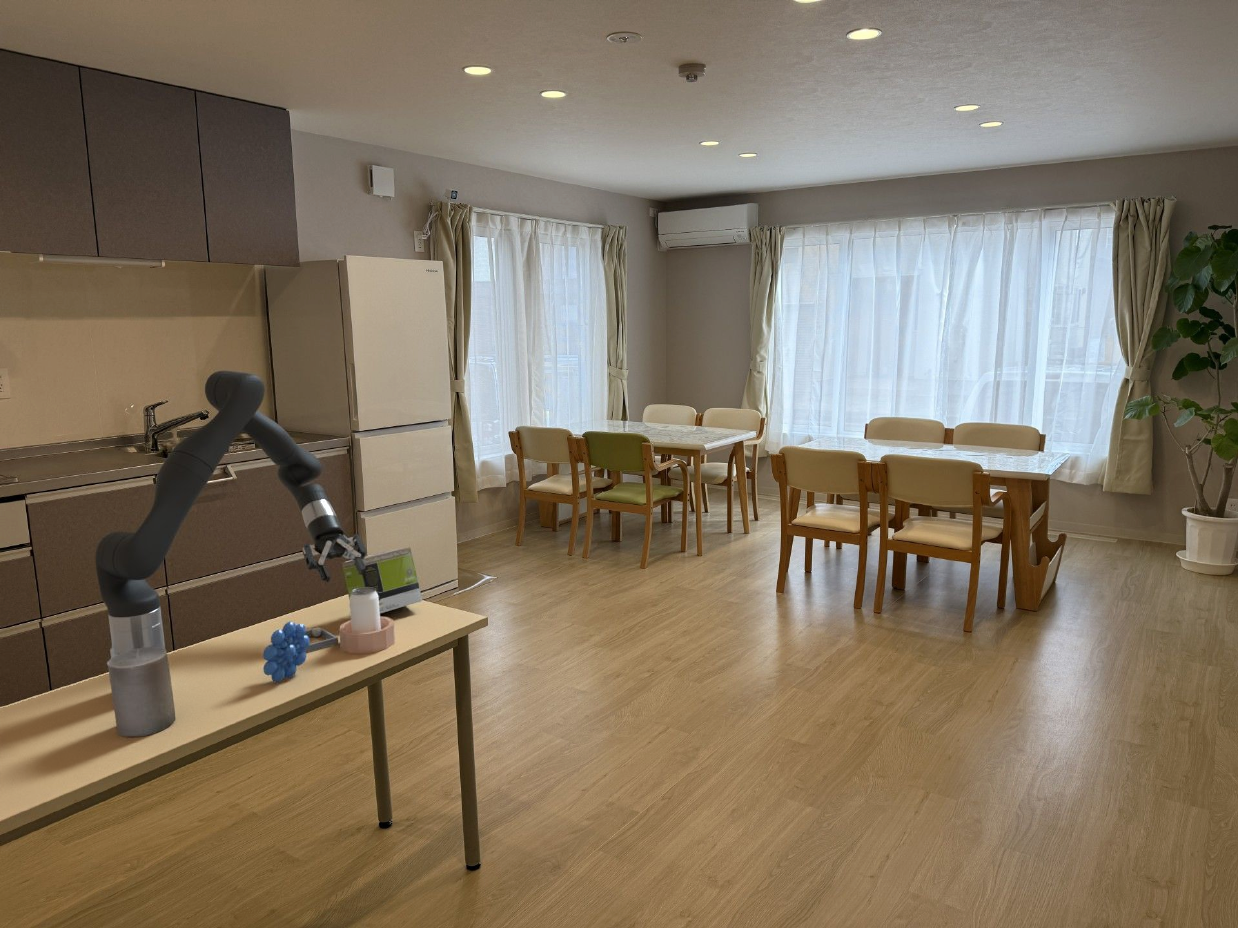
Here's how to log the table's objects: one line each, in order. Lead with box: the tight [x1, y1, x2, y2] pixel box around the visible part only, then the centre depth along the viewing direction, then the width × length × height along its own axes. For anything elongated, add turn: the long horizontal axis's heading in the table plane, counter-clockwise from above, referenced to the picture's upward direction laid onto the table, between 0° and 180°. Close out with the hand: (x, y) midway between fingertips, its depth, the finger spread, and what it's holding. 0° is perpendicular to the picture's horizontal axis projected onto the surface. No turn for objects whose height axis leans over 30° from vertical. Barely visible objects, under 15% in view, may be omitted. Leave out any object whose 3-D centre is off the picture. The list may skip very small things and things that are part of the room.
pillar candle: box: [106, 647, 176, 738], centre depth 156 cm, size 10×10×15 cm
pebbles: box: [312, 627, 322, 638], centre depth 197 cm, size 9×9×2 cm
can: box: [349, 587, 381, 633], centre depth 196 cm, size 6×6×12 cm
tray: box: [302, 626, 339, 654], centre depth 197 cm, size 10×10×2 cm
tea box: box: [341, 546, 423, 614], centre depth 216 cm, size 15×10×15 cm, turn 136°
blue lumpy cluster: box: [262, 620, 311, 683], centre depth 177 cm, size 12×7×12 cm, turn 151°
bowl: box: [339, 615, 396, 655], centre depth 196 cm, size 12×12×4 cm
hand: (345, 576), depth 202 cm, fingers open, 8 cm apart
